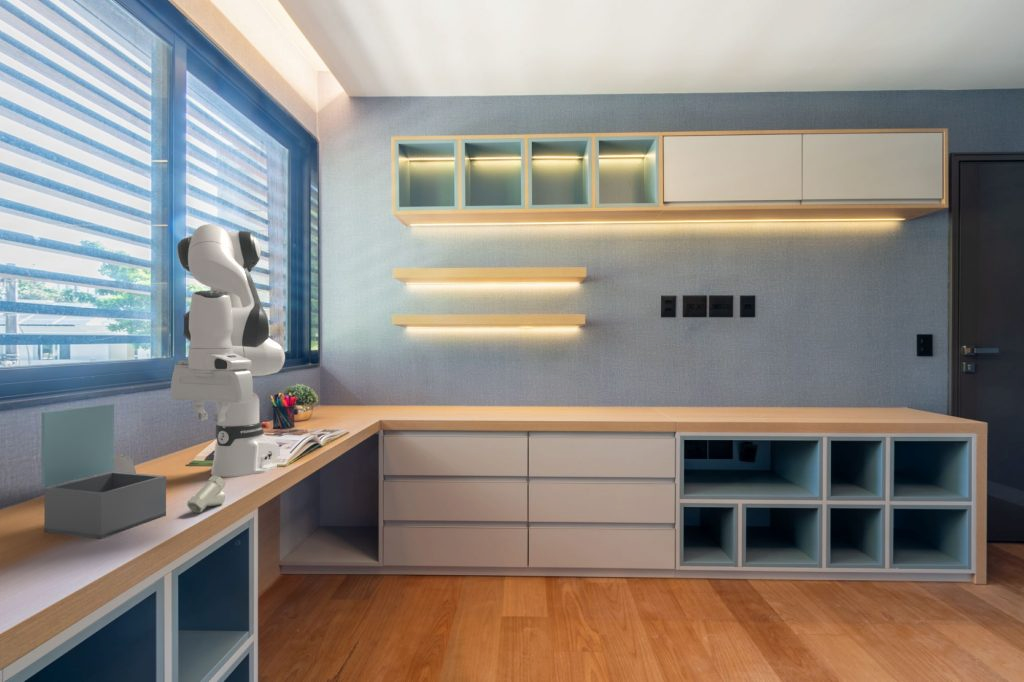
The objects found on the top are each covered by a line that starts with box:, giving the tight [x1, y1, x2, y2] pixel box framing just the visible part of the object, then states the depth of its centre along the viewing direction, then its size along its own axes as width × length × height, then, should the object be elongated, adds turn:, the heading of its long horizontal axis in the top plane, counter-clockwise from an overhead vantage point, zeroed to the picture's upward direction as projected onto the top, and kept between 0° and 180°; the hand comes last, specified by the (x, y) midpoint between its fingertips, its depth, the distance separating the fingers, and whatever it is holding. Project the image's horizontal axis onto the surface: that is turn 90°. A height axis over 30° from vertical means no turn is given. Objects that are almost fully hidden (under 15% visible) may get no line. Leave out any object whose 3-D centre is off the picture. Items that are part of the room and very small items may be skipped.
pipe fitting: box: [186, 475, 226, 514], centre depth 119 cm, size 8×4×7 cm, turn 167°
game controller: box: [74, 453, 137, 481], centre depth 133 cm, size 14×4×10 cm, turn 93°
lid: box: [41, 403, 115, 488], centre depth 112 cm, size 14×15×1 cm
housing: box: [43, 472, 167, 540], centre depth 110 cm, size 14×15×9 cm
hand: (210, 420), depth 120 cm, fingers open, 3 cm apart
